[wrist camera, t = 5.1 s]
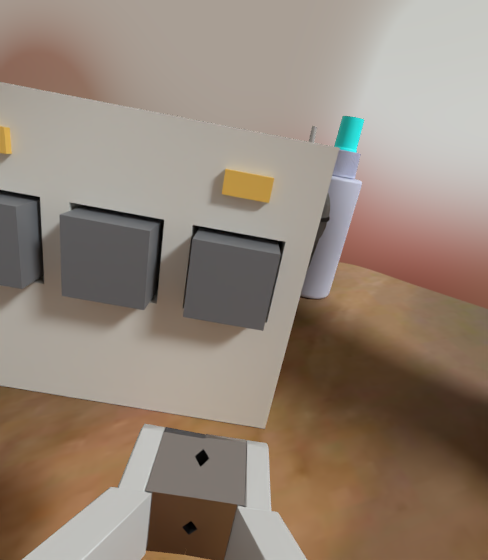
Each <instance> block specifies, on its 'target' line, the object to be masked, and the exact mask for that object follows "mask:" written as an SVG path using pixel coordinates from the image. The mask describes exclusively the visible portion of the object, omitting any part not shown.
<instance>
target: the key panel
mask: <svg viewBox="0 0 488 560" xmlns="http://www.w3.org/2000/svg"><path fill="white" fill-rule="evenodd" d="M338 152H339V148H338V147H333V146H327V145H322V144H317V143H312V142H307V141H302V140H296V139H291V138H286V137H281V136H275V135H271V134H266V133H260V132H255V131H250V130H245V129H240V128H234V127H230V126H224V125H219V124H213V123H209V122H204V121H199V120H193V119H188V118H183V117H178V116H173V115H168V114H162V113H157V112H152V111H147V110H142V109H137V108H131V107H126V106H121V105H115V104H111V103H105V102H100V101H95V100H90V99H85V98H80V97H74V96H69V95H64V94H59V93H54V92H49V91H44V90H38V89H33V88H28V87H23V86H18V85H13V84H7V83H2V82H0V190H5V191H10V192H16V193H21V194H27V195H32V196H38V197H40V207H41V227H42V247H43V267H44V276H42V277H40V278H39V279H37V280H36V281H34V282H32V283H31V284H29V285H28V286H26V287H25V288H23V289H19V288H13V287H7V286H1V285H0V386H6V387H12V388H18V389H24V390H31V391H37V392H43V393H49V394H55V395H61V396H67V397H73V398H80V399H86V400H92V401H98V402H104V403H110V404H116V405H122V406H129V407H135V408H141V409H147V410H153V411H159V412H165V413H171V414H178V415H184V416H190V417H196V418H202V419H208V420H214V421H220V422H227V423H233V424H239V425H245V426H251V427H257V428H263V429H265V426H266V423H267V419H268V415H269V411H270V408H271V404H272V400H273V396H274V393H275V389H276V385H277V381H278V378H279V374H280V370H281V366H282V362H283V359H284V355H285V351H286V347H287V344H288V340H289V336H290V332H291V329H292V325H293V321H294V317H295V314H296V310H297V306H298V302H299V299H300V295H301V291H302V287H303V283H304V280H305V276H306V272H307V268H308V265H309V261H310V257H311V253H312V250H313V246H314V242H315V238H316V235H317V231H318V227H319V223H320V220H321V216H322V212H323V208H324V205H325V201H326V197H327V193H328V189H329V186H330V182H331V178H332V174H333V171H334V167H335V163H336V159H337V156H338ZM84 205H87V206H92V207H98V208H103V209H109V210H114V211H120V212H125V213H131V214H136V215H142V216H147V217H153V218H158V219H164V229H163V240H162V252H161V263H160V274H159V285H158V290H157V292H156V293H155V295H154V296H153V298H152V299H151V301H150V302H149V304H148V305H147V307H146V308H145V310H140V309H134V308H128V307H123V306H117V305H111V304H105V303H99V302H94V301H88V300H82V299H76V298H71V297H65V296H62V286H61V252H60V218H59V215H60V214H62V213H65V212H68V211H71V210H73V209H76V208H79V207H81V206H84ZM201 226H202V227H207V228H213V229H218V230H224V231H229V232H235V233H240V234H246V235H251V236H257V237H262V238H267V239H273V240H278V244H279V249H280V254H281V256H280V260H279V265H278V269H277V273H276V278H275V282H274V286H273V291H272V295H271V299H270V304H269V308H268V312H267V317H266V321H265V325H264V330H263V331H261V330H255V329H249V328H244V327H238V326H232V325H226V324H221V323H215V322H209V321H203V320H198V319H192V318H186V317H183V312H184V304H185V296H186V288H187V280H188V272H189V264H190V256H191V248H192V240H193V237H194V236H195V234H196V233H197V231H198V230H199V228H200V227H201Z"/></svg>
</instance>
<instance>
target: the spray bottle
mask: <svg viewBox="0 0 488 560" xmlns="http://www.w3.org/2000/svg"><path fill="white" fill-rule="evenodd" d="M363 123H364V120H363V119H360V118H356V117H350V116H343V117H342V121H341V124H340V128H339V131H338V135H337V139H336V142H335V146H334V147H338V148H339V152H338V156H337V159H336V163H335V167H334V171H333V174H332V178H331V182H330V186H329V189H328V194H329V197H330V214H329V217H330V219H329V221H328V222H327V225H326V228H325V230H324V232H323V234H322V236H321V238H319V241H318V244H317V246H316V249H315V252H314V255H313V257H312V260H311V263H310V266H309V268H308V271H307V274H306V277H305V280H304V283H303V287H302V291H301V295H300V296H303V297H306V298H311V299H322V298H325V297H326V296H328V294H329V292H330V289H331V285H332V282H333V279H334V275H335V272H336V269H337V265H338V262H339V259H340V255H341V252H342V248H343V245H344V242H345V239H346V235H347V232H348V228H349V225H350V222H351V219H352V215H353V212H354V209H355V205H356V202H357V199H358V195H359V192H360V189H361V185H362V182H361V181H360V180H356V179H353V178H355V176H356V172H357V167H358V163H359V159H360V155H361V154H359V153H356V152H357V151H356V149H357V146H358V142H359V138H360V134H361V130H362V127H363Z"/></svg>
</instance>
